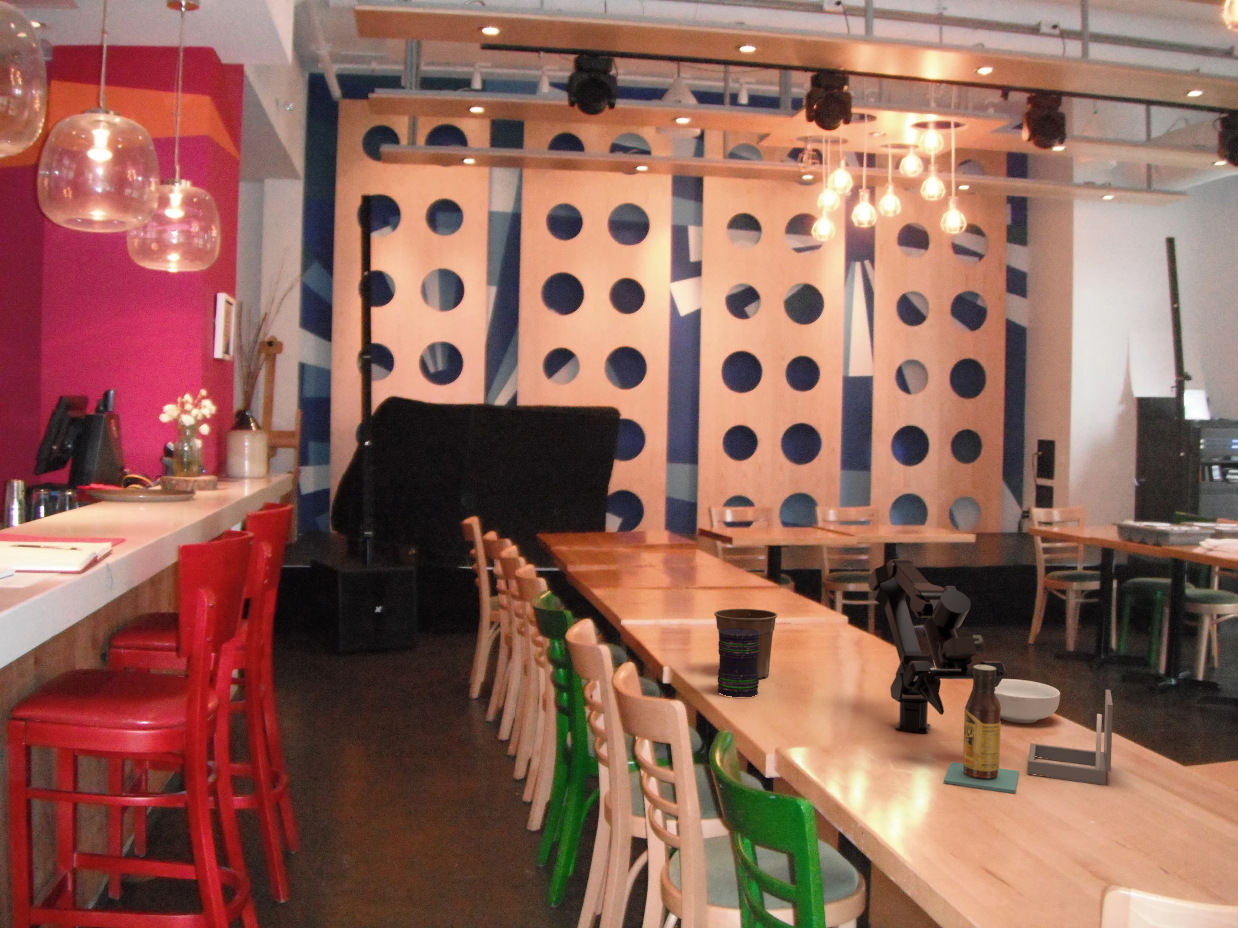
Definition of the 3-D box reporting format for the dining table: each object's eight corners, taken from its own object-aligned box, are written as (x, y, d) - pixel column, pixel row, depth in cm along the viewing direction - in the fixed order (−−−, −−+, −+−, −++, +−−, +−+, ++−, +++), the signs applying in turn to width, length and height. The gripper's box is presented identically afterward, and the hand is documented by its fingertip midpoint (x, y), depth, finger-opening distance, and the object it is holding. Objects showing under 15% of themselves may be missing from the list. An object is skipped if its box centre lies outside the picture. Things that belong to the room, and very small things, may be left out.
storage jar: (753, 700, 245) (755, 636, 245) (712, 695, 248) (714, 633, 248) (762, 690, 254) (763, 629, 254) (722, 686, 257) (724, 626, 257)
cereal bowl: (964, 717, 233) (965, 685, 233) (998, 705, 245) (999, 675, 245) (1039, 733, 221) (1040, 700, 221) (1071, 719, 233) (1072, 688, 233)
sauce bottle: (961, 768, 194) (963, 661, 193) (996, 771, 192) (999, 663, 192) (964, 779, 187) (967, 668, 187) (1001, 782, 186) (1004, 671, 185)
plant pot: (706, 678, 266) (707, 615, 266) (720, 666, 282) (722, 606, 281) (769, 684, 261) (771, 620, 261) (780, 671, 276) (782, 610, 276)
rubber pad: (950, 764, 197) (950, 761, 197) (1018, 774, 193) (1018, 770, 193) (943, 783, 186) (943, 780, 186) (1015, 793, 182) (1015, 790, 182)
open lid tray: (1030, 755, 204) (1032, 681, 204) (1107, 765, 199) (1110, 689, 199) (1027, 774, 192) (1029, 696, 192) (1110, 785, 187) (1112, 705, 187)
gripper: (909, 619, 201) (930, 690, 190) (1003, 619, 202) (1029, 690, 192) (894, 651, 209) (913, 721, 198) (984, 651, 210) (1008, 721, 200)
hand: (966, 713), depth 197 cm, fingers open, 9 cm apart
